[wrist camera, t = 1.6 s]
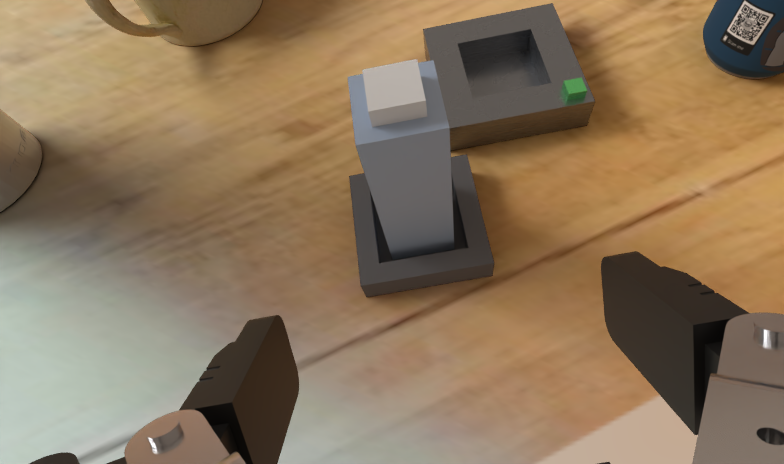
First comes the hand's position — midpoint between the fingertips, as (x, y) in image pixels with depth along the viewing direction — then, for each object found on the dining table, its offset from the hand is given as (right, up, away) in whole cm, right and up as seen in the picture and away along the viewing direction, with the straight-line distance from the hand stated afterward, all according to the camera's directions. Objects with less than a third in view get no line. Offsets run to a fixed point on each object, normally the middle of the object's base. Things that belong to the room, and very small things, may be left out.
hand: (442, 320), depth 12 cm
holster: (+1, +2, +20) cm, 20 cm away
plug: (+1, +3, +20) cm, 20 cm away
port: (+7, +13, +25) cm, 29 cm away
